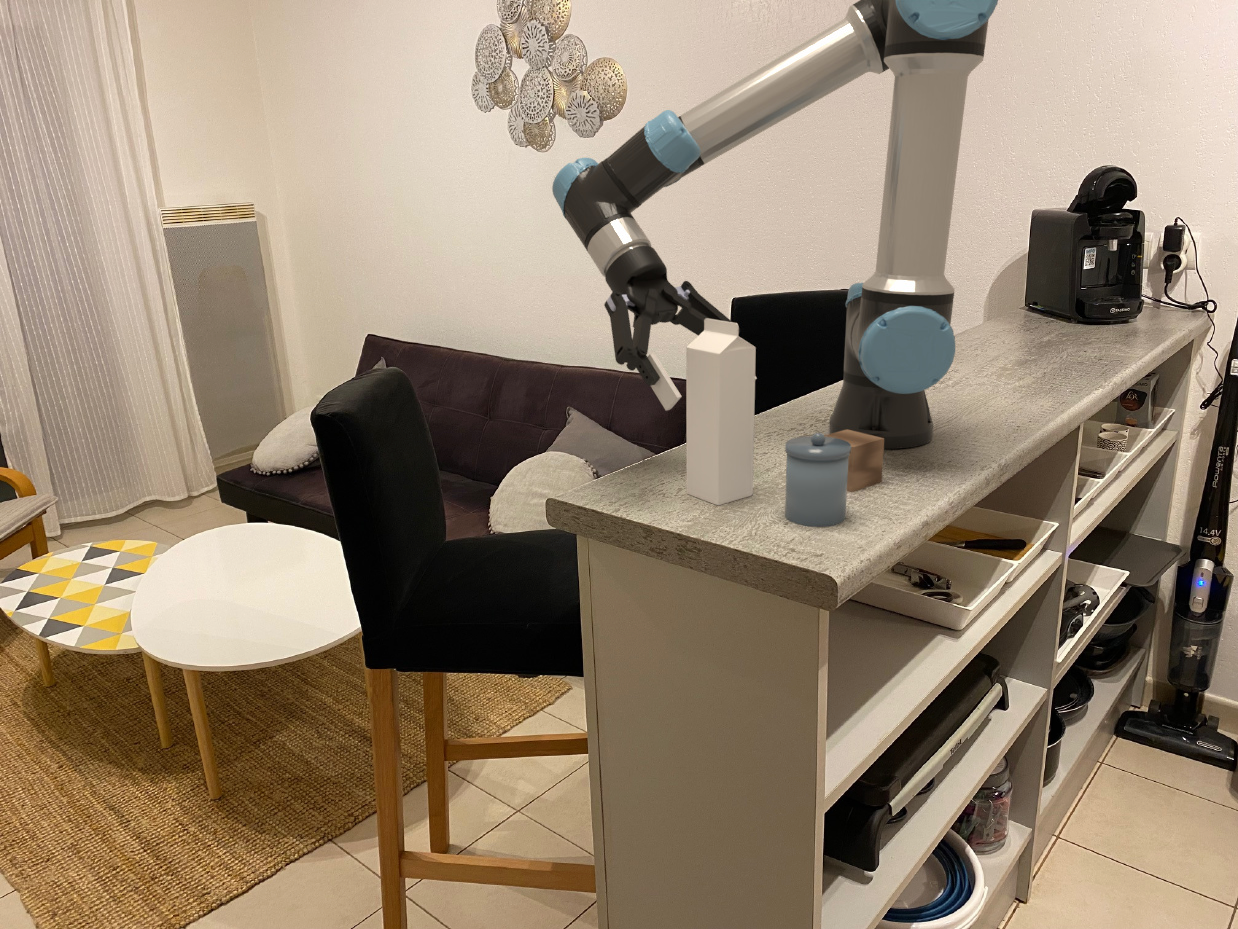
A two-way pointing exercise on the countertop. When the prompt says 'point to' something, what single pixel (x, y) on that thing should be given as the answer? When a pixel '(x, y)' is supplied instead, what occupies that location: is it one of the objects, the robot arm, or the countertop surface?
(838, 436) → the walnut block
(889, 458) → the countertop surface
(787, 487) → the slate jar
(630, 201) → the robot arm
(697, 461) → the milk
